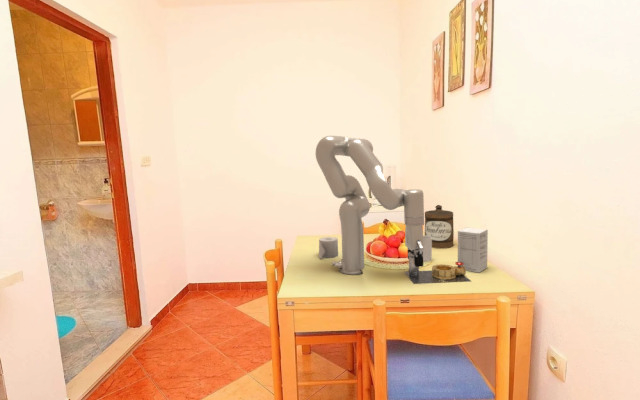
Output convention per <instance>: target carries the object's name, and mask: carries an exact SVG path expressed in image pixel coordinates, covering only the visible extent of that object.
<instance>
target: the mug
mask: <svg viewBox="0 0 640 400" xmlns="http://www.w3.org/2000/svg"><path fill="white" fill-rule="evenodd" d="M423 242H424V247H423V263H424V262H431V261H432V252H433V251H432V249H433V248H432V237H431V236H425V235H423ZM416 249H419V248H416ZM417 252H418V251H417Z"/></svg>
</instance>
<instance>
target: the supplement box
mask: <svg viewBox="0 0 640 400" xmlns="http://www.w3.org/2000/svg"><path fill="white" fill-rule="evenodd" d="M488 234H489V233H488V229H483V228H476V227H475V228H474V227H465V228H463V229H462V228H461V229H459V230H458V231H457V262H463V263H464V265H460V266H464V267H465V269H466V271H468V272H472V273H473V272H474V273H477V274H478V273H481V272H482V271H484V270H486V269H487V268H488Z"/></svg>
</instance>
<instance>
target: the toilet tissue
mask: <svg viewBox="0 0 640 400" xmlns="http://www.w3.org/2000/svg"><path fill="white" fill-rule="evenodd" d="M338 239H339V238H338V237H333V236H326V237H325V236H324V237H321V238H320V237H319V240H318V241H319V243H318V259H320V260H321V259H323V258H324V259H334V258H338V256H339V240H338Z"/></svg>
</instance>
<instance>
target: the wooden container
mask: <svg viewBox="0 0 640 400" xmlns="http://www.w3.org/2000/svg"><path fill="white" fill-rule="evenodd" d="M454 233H455V232H454V212H453V211H452V210H443V206H442V205H440V204H436V206H435V209H434V210H426V211H424V236H431V237H432V249H449V248H452V247H453V246H454V237H455V236H454Z"/></svg>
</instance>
